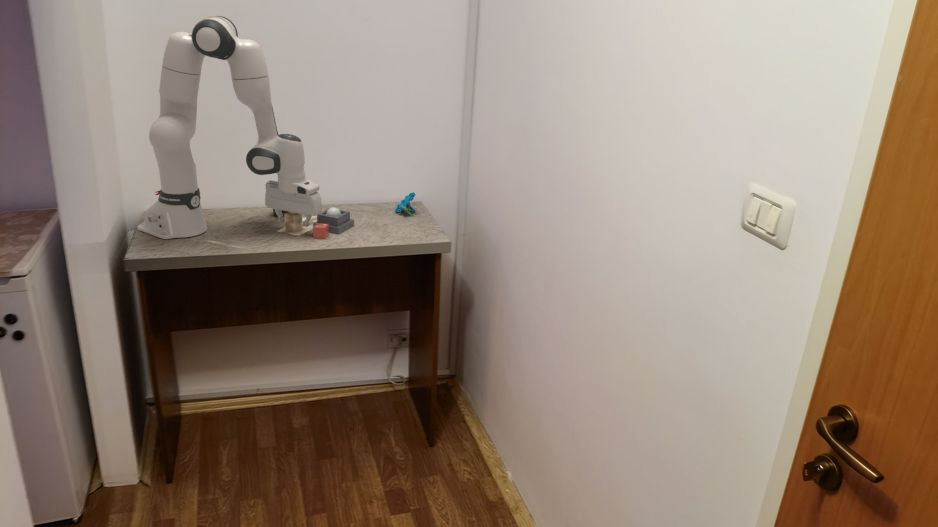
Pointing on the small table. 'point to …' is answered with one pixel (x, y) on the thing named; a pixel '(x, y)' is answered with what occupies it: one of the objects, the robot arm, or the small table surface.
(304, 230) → the board
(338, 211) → the dome
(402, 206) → the blue lobed plastic figure
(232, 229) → the small table surface
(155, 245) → the small table surface
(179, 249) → the small table surface
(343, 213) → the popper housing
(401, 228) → the small table surface
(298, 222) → the pawn
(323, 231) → the die
